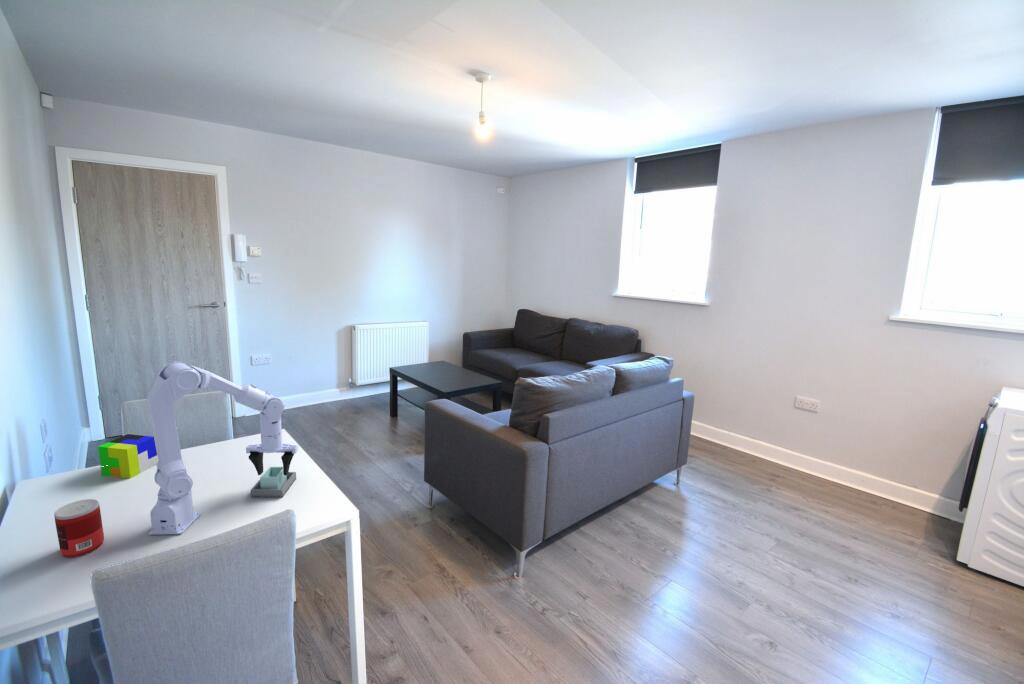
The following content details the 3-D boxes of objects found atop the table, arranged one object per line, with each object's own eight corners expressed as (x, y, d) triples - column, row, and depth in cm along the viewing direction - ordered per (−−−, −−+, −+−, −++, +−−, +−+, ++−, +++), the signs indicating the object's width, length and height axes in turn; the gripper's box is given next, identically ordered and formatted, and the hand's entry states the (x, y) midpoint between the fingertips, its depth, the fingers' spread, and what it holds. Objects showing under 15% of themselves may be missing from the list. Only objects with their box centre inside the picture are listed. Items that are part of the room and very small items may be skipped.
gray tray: (296, 478, 148) (295, 471, 147) (282, 497, 137) (282, 489, 136) (266, 478, 147) (266, 471, 146) (251, 497, 136) (250, 490, 135)
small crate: (286, 480, 145) (286, 466, 144) (278, 492, 138) (277, 477, 137) (270, 480, 145) (269, 466, 144) (261, 492, 138) (260, 477, 137)
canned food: (112, 537, 115) (107, 499, 113) (84, 559, 107) (78, 517, 105) (81, 537, 115) (75, 498, 112) (51, 558, 107) (44, 516, 104)
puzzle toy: (158, 464, 152) (154, 436, 150) (130, 478, 143) (126, 449, 141) (131, 461, 153) (127, 434, 151) (102, 475, 144) (97, 446, 142)
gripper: (300, 428, 143) (302, 467, 145) (252, 427, 141) (254, 467, 144) (292, 437, 136) (293, 478, 138) (241, 436, 134) (244, 478, 137)
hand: (273, 473), depth 141 cm, fingers open, 7 cm apart
